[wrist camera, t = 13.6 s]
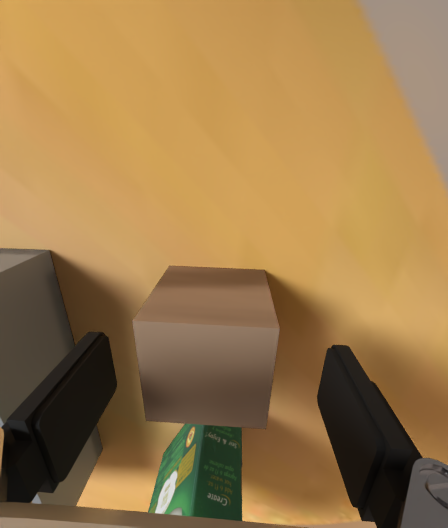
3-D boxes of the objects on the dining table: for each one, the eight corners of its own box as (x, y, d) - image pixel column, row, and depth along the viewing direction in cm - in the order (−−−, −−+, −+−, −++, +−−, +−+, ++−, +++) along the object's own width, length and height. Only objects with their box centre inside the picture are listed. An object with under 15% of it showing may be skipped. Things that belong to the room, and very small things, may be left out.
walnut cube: (169, 264, 13) (132, 320, 8) (264, 269, 13) (279, 328, 8) (174, 340, 15) (145, 420, 10) (257, 345, 15) (266, 428, 10)
